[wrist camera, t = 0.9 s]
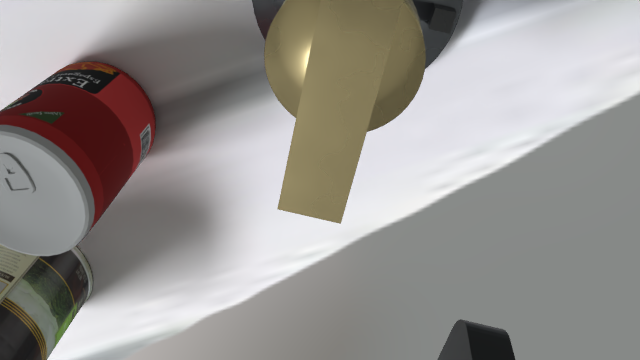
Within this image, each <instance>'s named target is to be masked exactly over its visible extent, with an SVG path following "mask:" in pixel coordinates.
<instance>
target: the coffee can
mask: <svg viewBox="0 0 640 360" xmlns="http://www.w3.org/2000/svg"><path fill="white" fill-rule="evenodd" d="M92 286H93V277H92V272H91V269H90V266H89V264H88V262H87V260H86V259H85V257H84V255H83V254H82V253H81V251H80V250H79V249H78V248H77V247H76V246H75V247H73V248H72V249H70V250H69V251H66V252H64V253H61V254H58V255H51V256H34V255H29V254H23V253H20V252H17V251H14V250H11V249H9V248H7V247H5V246H3V245H1V244H0V360H47V359H48V357H49V355H50V354H51V352H52V351H53V349H54V348H55V346H56V345H57V343H58V342H59V340H60V339H61V337H62V336H63V334H64V333H65V331H66V329H67V328H68V326H69V325H70V323H71V322H72V320H73V319H74V317H75V316H76V314H77V313H78V311H79V310H80V308H81V307H82V305H83V304H84V303H85V302H86V301H87V299H88V298H89V296H90V294H91V291H92Z"/></svg>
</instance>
